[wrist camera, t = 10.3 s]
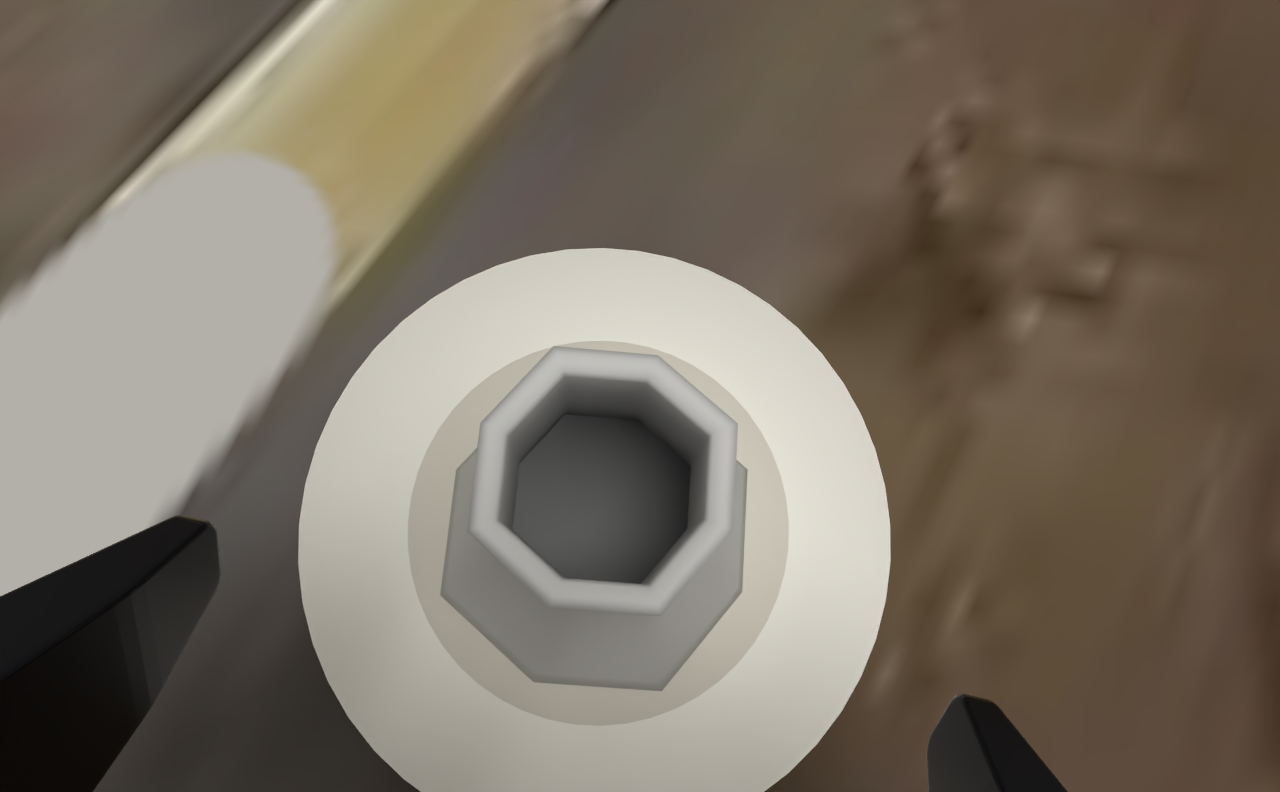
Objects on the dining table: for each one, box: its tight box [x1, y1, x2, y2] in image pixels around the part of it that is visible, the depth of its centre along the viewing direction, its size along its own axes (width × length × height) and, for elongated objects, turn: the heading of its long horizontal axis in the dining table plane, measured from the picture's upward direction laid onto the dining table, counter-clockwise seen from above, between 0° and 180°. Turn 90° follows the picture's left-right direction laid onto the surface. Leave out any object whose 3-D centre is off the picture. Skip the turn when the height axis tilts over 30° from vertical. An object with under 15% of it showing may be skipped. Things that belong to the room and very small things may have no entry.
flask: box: [440, 346, 748, 691], centre depth 14 cm, size 7×7×10 cm
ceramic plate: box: [298, 248, 890, 792], centre depth 20 cm, size 14×14×1 cm
